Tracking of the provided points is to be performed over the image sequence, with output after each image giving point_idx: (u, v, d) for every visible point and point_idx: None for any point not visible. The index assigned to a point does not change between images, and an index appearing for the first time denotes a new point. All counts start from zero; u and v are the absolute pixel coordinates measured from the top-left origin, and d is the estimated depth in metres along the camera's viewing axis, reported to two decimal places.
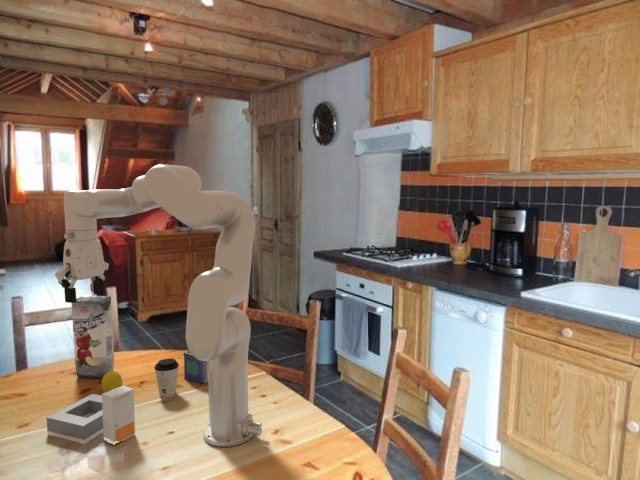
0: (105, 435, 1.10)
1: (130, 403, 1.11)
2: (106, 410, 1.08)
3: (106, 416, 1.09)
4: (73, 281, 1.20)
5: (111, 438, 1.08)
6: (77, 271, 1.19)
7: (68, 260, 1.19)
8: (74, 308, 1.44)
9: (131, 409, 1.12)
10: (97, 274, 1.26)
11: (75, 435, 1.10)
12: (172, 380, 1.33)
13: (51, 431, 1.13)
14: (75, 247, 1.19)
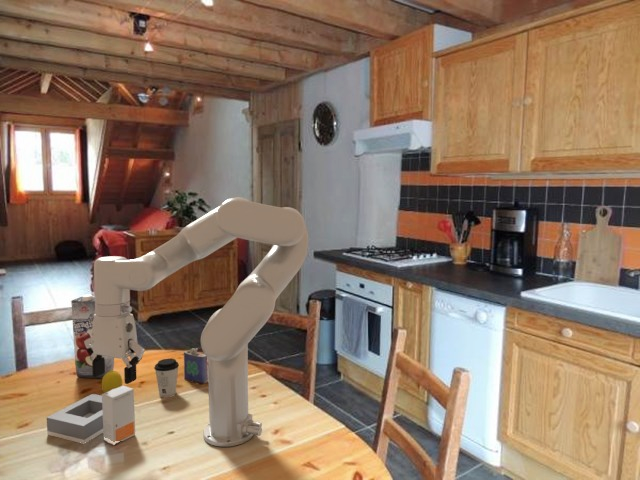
0: (105, 435, 1.10)
1: (130, 403, 1.11)
2: (106, 410, 1.08)
3: (106, 416, 1.09)
4: None
5: (111, 438, 1.08)
6: None
7: (130, 335, 1.07)
8: (74, 308, 1.44)
9: (131, 409, 1.12)
10: None
11: (75, 435, 1.10)
12: (172, 380, 1.33)
13: (51, 431, 1.13)
14: (133, 319, 1.09)
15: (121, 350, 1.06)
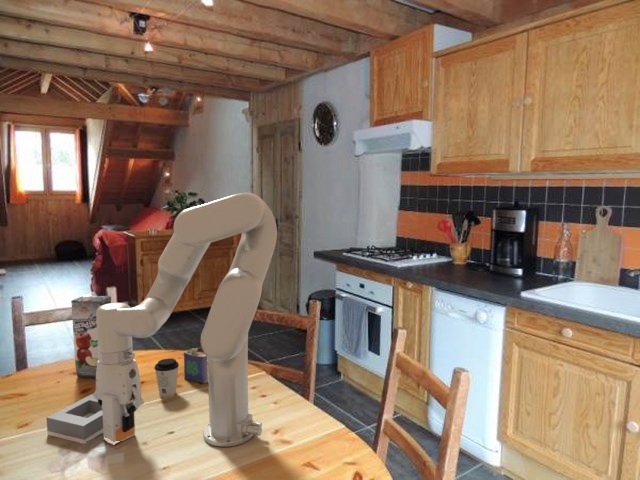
0: (105, 435, 1.10)
1: None
2: (106, 410, 1.08)
3: (106, 416, 1.09)
4: None
5: (111, 438, 1.08)
6: None
7: (134, 381, 1.09)
8: (74, 308, 1.44)
9: None
10: None
11: (75, 435, 1.10)
12: (172, 380, 1.33)
13: (51, 431, 1.13)
14: (136, 364, 1.10)
15: (125, 397, 1.07)
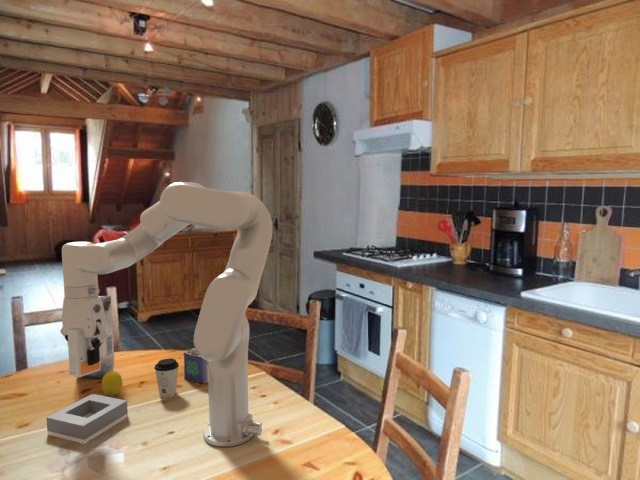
0: (71, 368, 1.14)
1: None
2: (71, 343, 1.13)
3: (71, 350, 1.13)
4: None
5: (76, 370, 1.13)
6: None
7: (98, 316, 1.13)
8: None
9: None
10: None
11: (75, 435, 1.10)
12: (172, 380, 1.33)
13: (51, 431, 1.13)
14: (101, 300, 1.15)
15: (89, 330, 1.11)
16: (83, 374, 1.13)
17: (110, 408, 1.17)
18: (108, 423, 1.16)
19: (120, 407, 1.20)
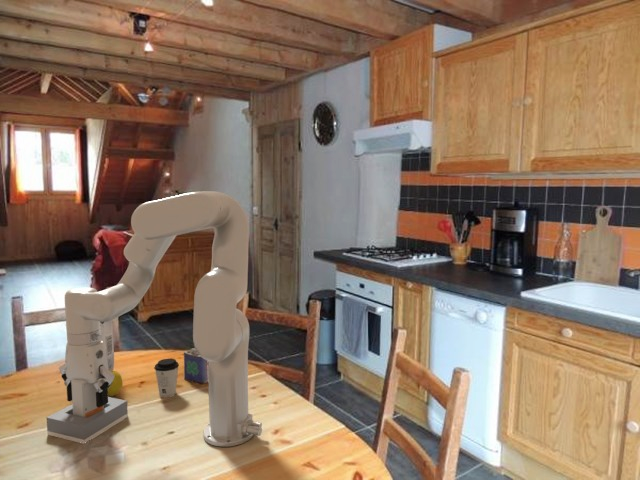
0: None
1: None
2: (76, 394, 1.14)
3: (76, 401, 1.14)
4: None
5: None
6: None
7: (101, 361, 1.14)
8: None
9: None
10: None
11: (75, 435, 1.10)
12: (172, 380, 1.33)
13: (51, 431, 1.13)
14: (104, 346, 1.16)
15: (92, 376, 1.13)
16: None
17: (110, 408, 1.17)
18: (108, 423, 1.16)
19: (120, 407, 1.20)
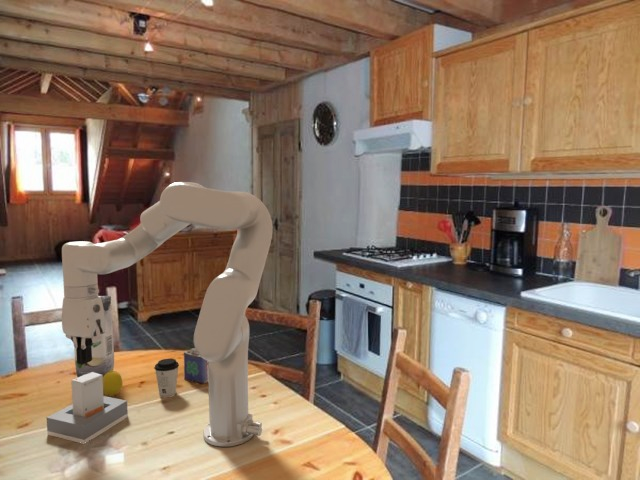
0: None
1: (99, 388, 1.17)
2: (76, 395, 1.14)
3: (76, 401, 1.14)
4: None
5: None
6: None
7: (98, 316, 1.13)
8: None
9: (100, 394, 1.18)
10: None
11: (75, 435, 1.10)
12: (172, 380, 1.33)
13: (51, 431, 1.13)
14: (101, 300, 1.15)
15: (89, 330, 1.11)
16: None
17: (110, 408, 1.17)
18: (108, 423, 1.16)
19: (120, 407, 1.20)
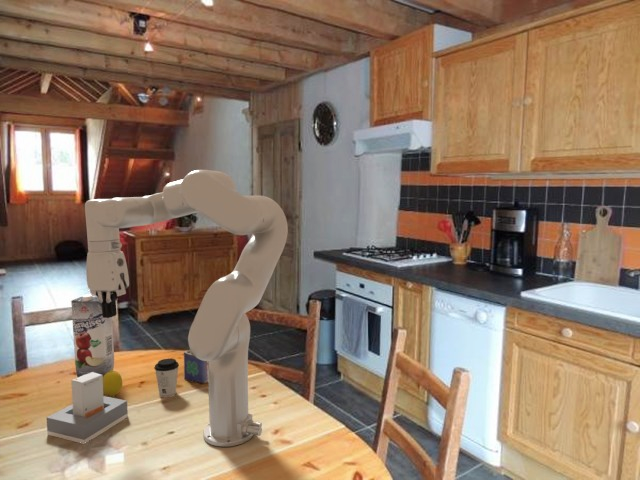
0: None
1: (99, 388, 1.17)
2: (76, 395, 1.14)
3: (76, 401, 1.14)
4: None
5: None
6: None
7: (122, 270, 1.17)
8: (74, 308, 1.44)
9: (100, 394, 1.18)
10: None
11: (75, 435, 1.10)
12: (172, 380, 1.33)
13: (51, 431, 1.13)
14: None
15: (114, 283, 1.16)
16: None
17: (110, 408, 1.17)
18: (108, 423, 1.16)
19: (120, 407, 1.20)
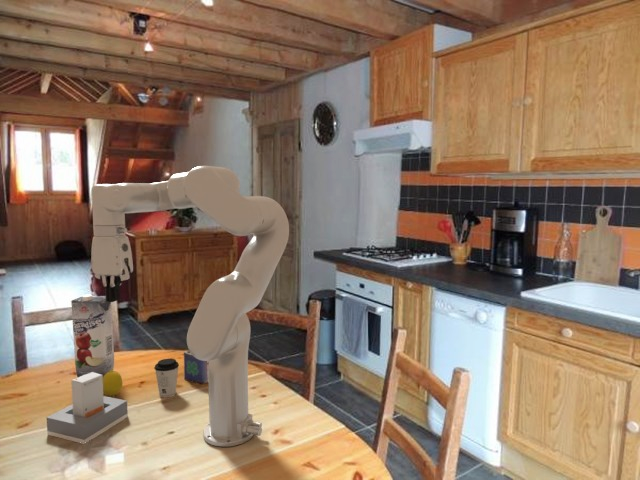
0: None
1: (99, 388, 1.17)
2: (76, 395, 1.14)
3: (76, 401, 1.14)
4: None
5: None
6: None
7: (126, 255, 1.18)
8: (74, 308, 1.44)
9: (100, 394, 1.18)
10: None
11: (75, 435, 1.10)
12: (172, 380, 1.33)
13: (51, 431, 1.13)
14: None
15: (118, 267, 1.17)
16: None
17: (110, 408, 1.17)
18: (108, 423, 1.16)
19: (120, 407, 1.20)
